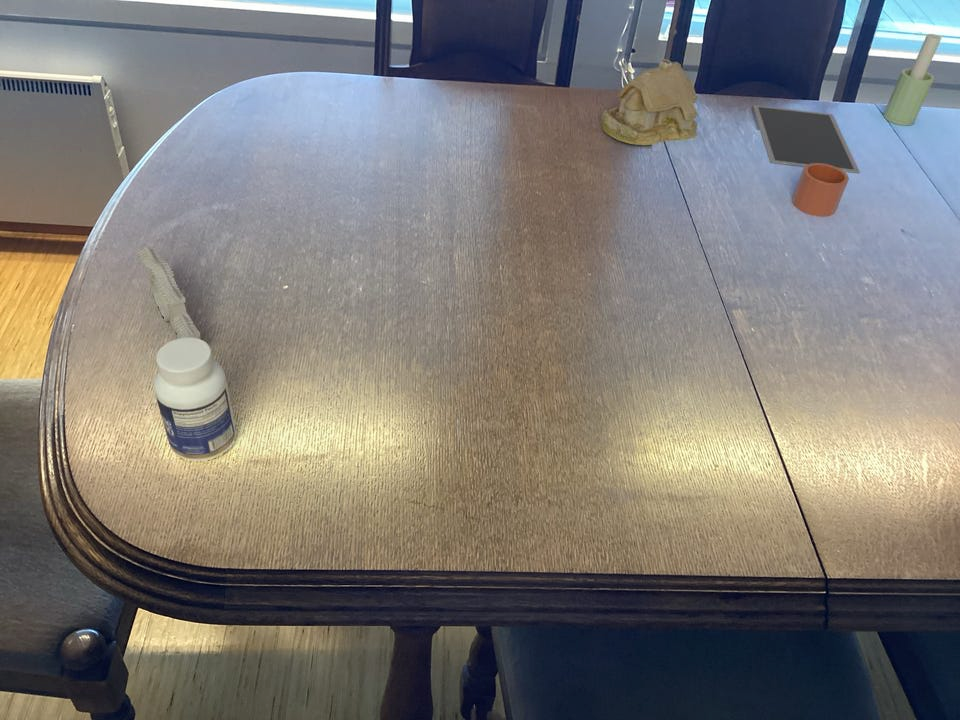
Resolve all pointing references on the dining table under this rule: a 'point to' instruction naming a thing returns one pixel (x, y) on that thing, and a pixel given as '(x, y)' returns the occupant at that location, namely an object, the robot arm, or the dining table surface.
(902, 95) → the pen cup
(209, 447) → the pill bottle
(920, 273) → the dining table surface
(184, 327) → the beige ridged long part
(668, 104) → the ceramic model
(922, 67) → the stylus
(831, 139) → the tablet
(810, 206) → the cup
